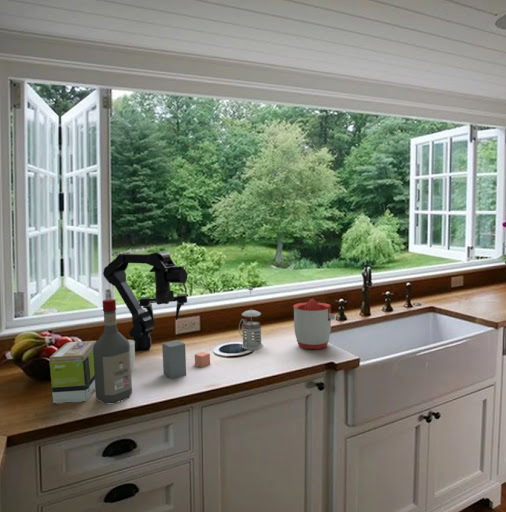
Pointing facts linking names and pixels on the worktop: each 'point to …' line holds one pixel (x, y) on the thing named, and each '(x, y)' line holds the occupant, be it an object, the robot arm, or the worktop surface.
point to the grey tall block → (174, 359)
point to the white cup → (132, 353)
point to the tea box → (73, 372)
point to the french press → (251, 330)
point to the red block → (202, 359)
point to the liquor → (112, 360)
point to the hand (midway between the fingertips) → (165, 320)
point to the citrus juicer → (312, 324)
